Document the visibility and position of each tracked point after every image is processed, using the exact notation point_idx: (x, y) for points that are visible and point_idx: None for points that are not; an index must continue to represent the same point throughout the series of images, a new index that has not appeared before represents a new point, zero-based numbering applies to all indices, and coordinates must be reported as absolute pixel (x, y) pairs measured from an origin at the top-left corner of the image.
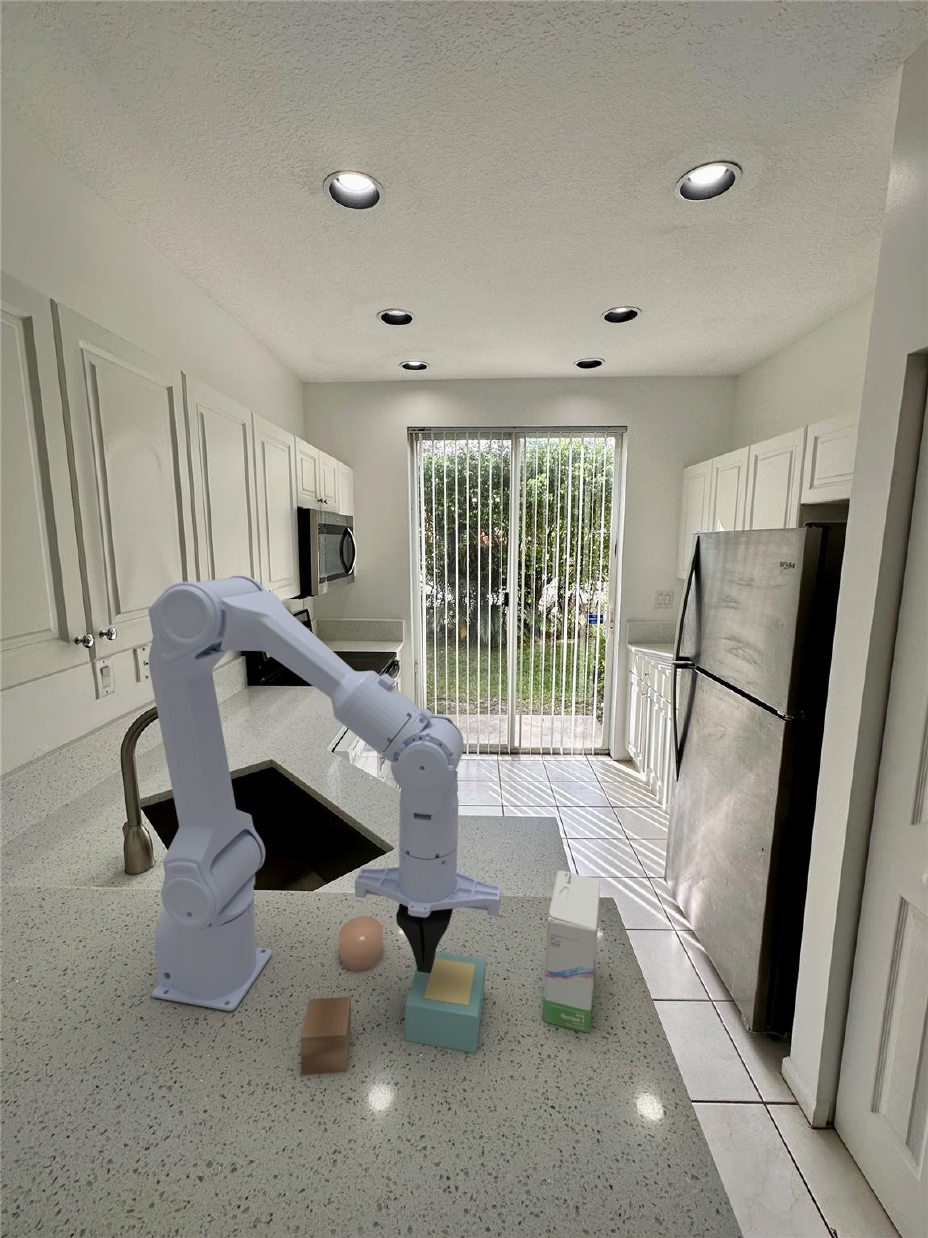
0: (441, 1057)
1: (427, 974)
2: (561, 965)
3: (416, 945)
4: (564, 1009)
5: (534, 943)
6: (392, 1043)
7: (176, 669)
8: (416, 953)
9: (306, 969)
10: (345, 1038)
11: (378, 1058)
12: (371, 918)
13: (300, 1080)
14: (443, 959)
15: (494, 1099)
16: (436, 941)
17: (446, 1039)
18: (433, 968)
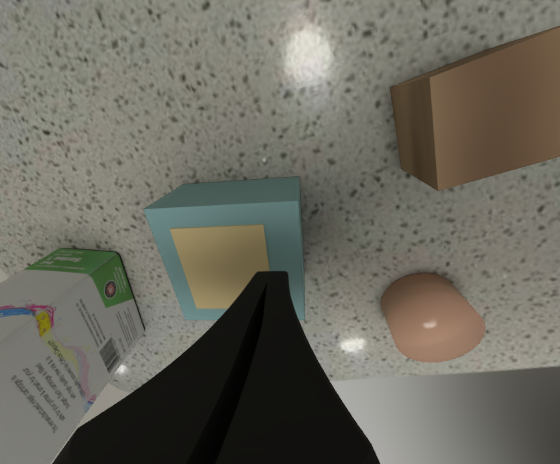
0: (230, 164)
1: None
2: None
3: (277, 330)
4: (64, 266)
5: (176, 347)
6: (318, 166)
7: None
8: (281, 306)
9: (516, 260)
10: (425, 79)
11: (335, 132)
12: (423, 360)
13: (487, 36)
14: None
15: (125, 117)
16: (188, 356)
17: (223, 185)
18: None
